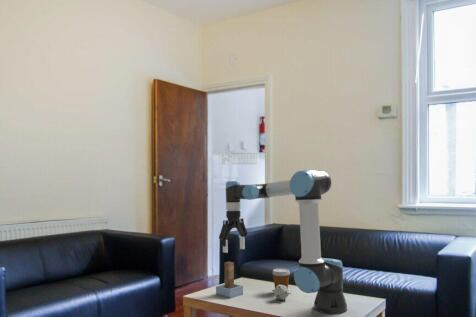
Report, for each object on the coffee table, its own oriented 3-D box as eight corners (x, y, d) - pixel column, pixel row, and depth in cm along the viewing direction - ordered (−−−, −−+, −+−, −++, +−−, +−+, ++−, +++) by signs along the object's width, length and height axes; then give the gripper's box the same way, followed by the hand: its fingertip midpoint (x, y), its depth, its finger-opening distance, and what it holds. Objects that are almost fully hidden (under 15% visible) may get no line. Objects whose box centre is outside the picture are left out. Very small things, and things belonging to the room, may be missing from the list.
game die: (285, 307, 225) (296, 290, 225) (278, 305, 218) (290, 288, 218) (272, 295, 230) (283, 279, 230) (265, 293, 223) (277, 277, 224)
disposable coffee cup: (289, 295, 232) (289, 272, 232) (271, 294, 234) (271, 271, 234) (291, 291, 241) (290, 268, 242) (273, 290, 243) (273, 268, 244)
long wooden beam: (234, 293, 235) (233, 262, 236) (229, 294, 233) (229, 263, 233) (229, 291, 238) (228, 261, 238) (224, 293, 235) (224, 262, 236)
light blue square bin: (242, 294, 236) (242, 285, 236) (230, 298, 228) (230, 289, 228) (229, 291, 242) (228, 282, 242) (216, 295, 235) (215, 286, 235)
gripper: (243, 208, 249) (243, 246, 248) (211, 211, 230) (212, 253, 229) (253, 208, 244) (254, 248, 243) (222, 212, 225) (223, 254, 224)
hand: (234, 250), depth 236 cm, fingers open, 13 cm apart
